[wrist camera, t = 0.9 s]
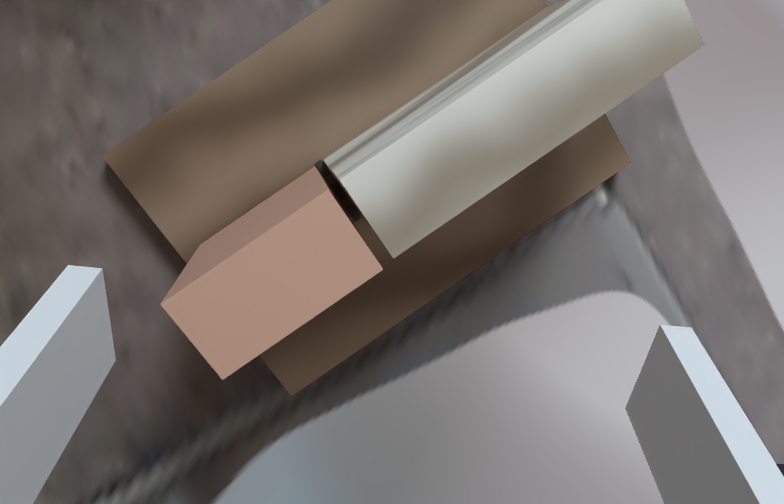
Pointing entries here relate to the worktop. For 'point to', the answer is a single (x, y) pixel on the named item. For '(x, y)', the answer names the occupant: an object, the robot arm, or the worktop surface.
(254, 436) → the worktop surface
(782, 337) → the worktop surface
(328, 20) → the beige and brown block
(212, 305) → the pink beveled block
